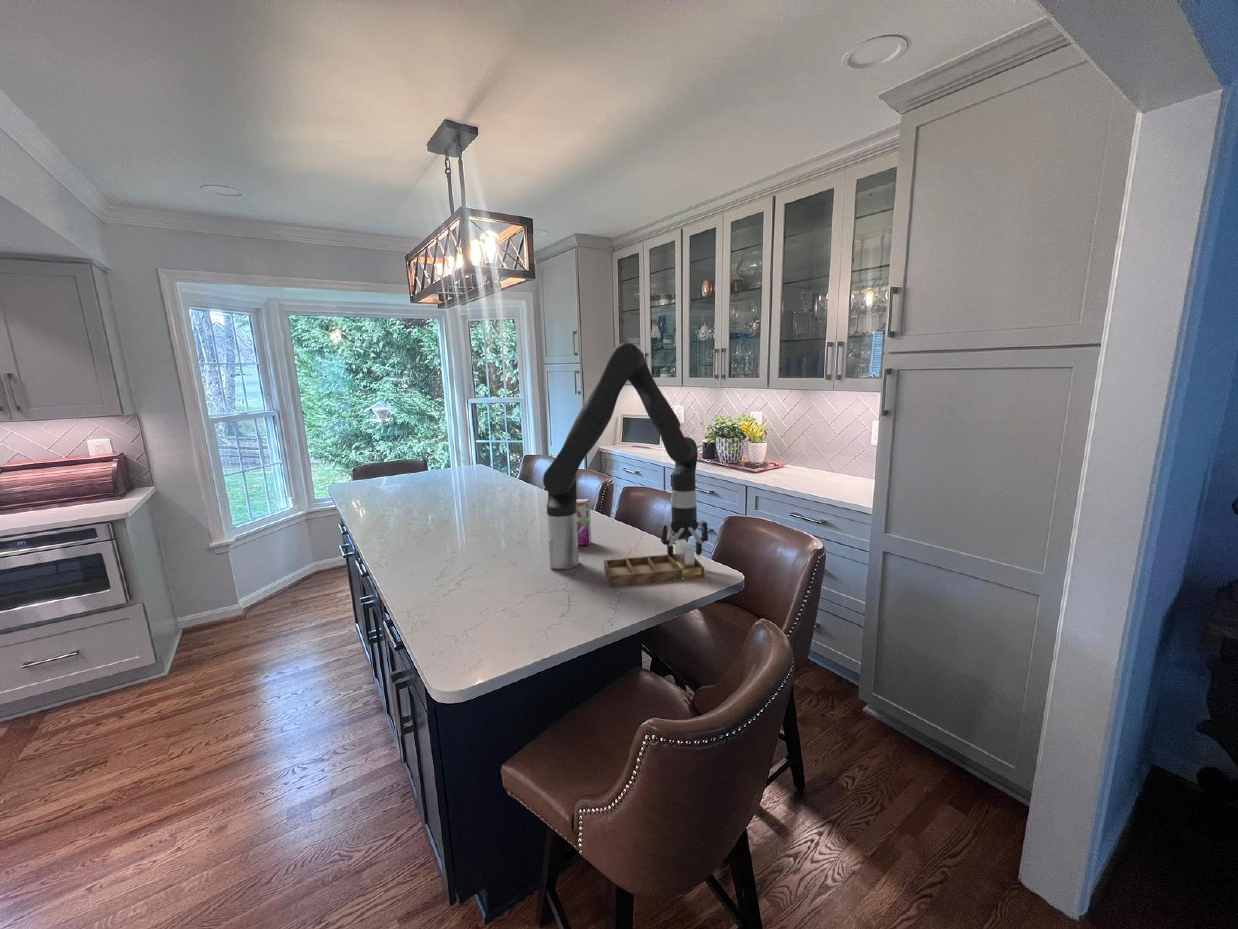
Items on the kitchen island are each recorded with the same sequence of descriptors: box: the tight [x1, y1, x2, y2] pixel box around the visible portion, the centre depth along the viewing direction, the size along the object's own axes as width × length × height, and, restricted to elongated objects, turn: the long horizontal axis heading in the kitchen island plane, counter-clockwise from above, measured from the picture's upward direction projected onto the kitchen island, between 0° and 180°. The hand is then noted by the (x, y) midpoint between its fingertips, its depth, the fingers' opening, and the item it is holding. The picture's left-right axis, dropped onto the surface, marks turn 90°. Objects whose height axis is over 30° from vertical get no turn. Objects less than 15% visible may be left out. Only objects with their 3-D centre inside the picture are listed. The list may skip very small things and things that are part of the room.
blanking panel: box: [674, 538, 695, 569], centre depth 152 cm, size 3×10×7 cm, turn 9°
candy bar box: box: [576, 498, 592, 547], centre depth 180 cm, size 11×5×16 cm, turn 84°
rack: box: [603, 553, 705, 587], centre depth 150 cm, size 28×14×3 cm, turn 99°
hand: (684, 555), depth 152 cm, fingers open, 8 cm apart
